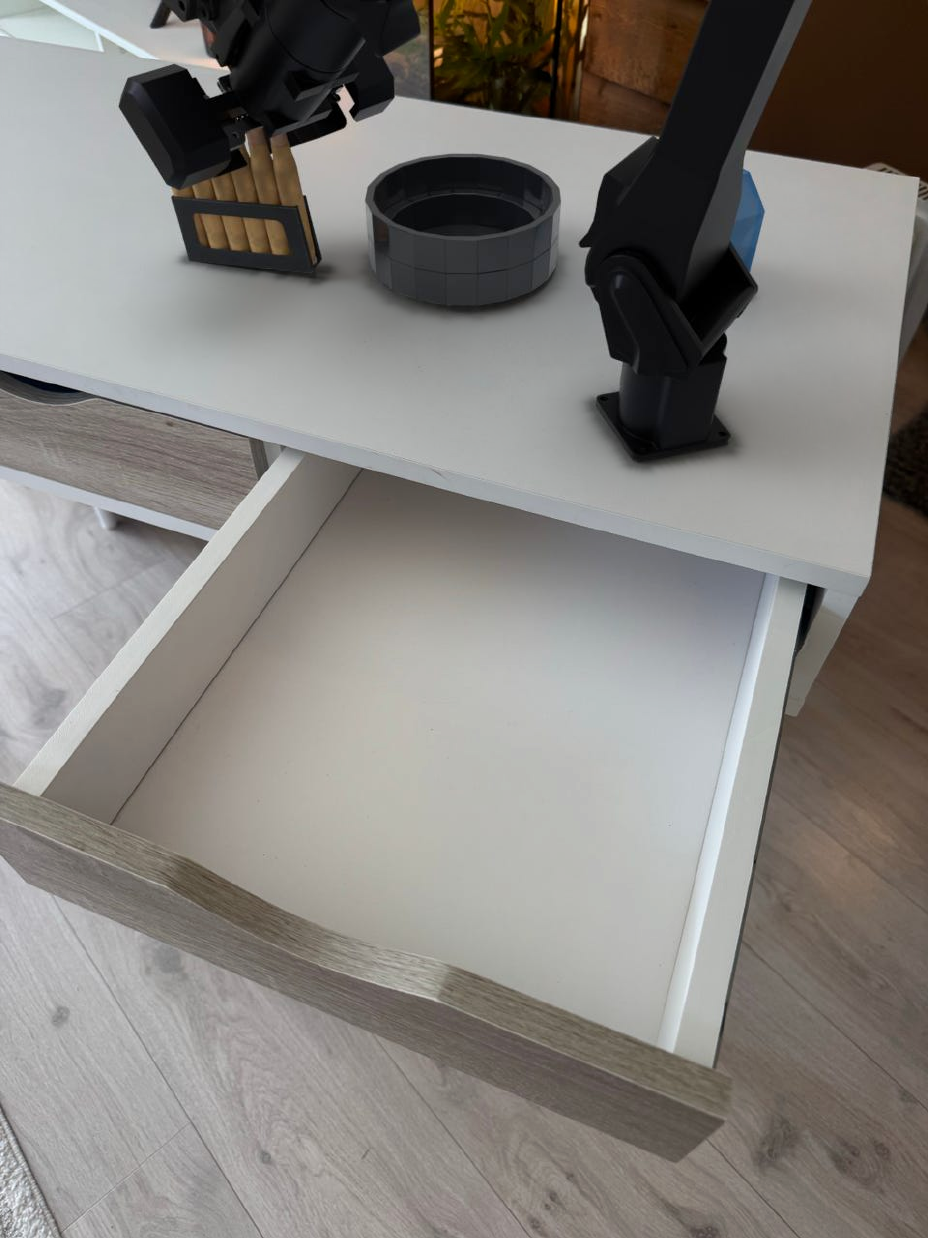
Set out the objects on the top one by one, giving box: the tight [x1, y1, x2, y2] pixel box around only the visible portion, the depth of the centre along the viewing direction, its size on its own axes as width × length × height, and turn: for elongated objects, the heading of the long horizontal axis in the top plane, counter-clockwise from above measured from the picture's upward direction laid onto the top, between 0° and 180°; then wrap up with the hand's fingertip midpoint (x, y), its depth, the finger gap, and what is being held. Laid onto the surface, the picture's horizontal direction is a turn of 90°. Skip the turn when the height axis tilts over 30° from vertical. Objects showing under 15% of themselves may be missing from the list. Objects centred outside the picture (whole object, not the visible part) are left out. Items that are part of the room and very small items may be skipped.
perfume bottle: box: [730, 168, 766, 273], centre depth 65 cm, size 6×6×12 cm
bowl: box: [364, 153, 562, 307], centre depth 70 cm, size 14×14×6 cm
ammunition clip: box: [170, 115, 323, 274], centre depth 67 cm, size 11×2×12 cm, turn 73°
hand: (226, 161), depth 68 cm, fingers closed on ammunition clip, 5 cm apart
